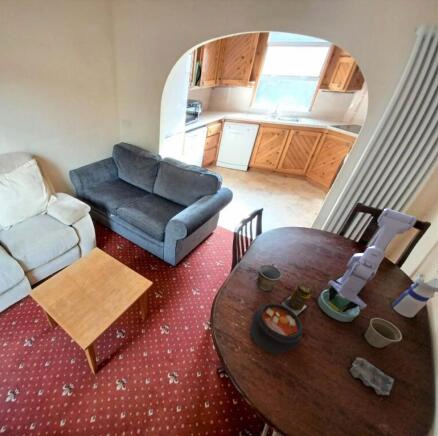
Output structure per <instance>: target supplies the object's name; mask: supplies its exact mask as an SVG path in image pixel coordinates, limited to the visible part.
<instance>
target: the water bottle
mask: <svg viewBox="0 0 438 436" xmlns="http://www.w3.org/2000/svg"><path fill="white" fill-rule="evenodd" d="M436 273H438V270H437V271H436ZM425 279H426V275H425V274H423V273H421V274H419V275H417V276H416V277H414V278H413V280H414V282H415V283H413V284H411V285H410V287H409V289H407V290H405V291H404V292H403V293H401V295H400V296H399V297H398V298H397V299H396V300H394V301H393V302H392V303H391V308H393V310H394V311H395V312H396V313H398V314H399V315H401V316H403V317H406V318H414V317H415V316H416V315H417V314H418V313H419V312H420V311H421V310H422V309H423V308H424V307H425V306H426V305H427V303H428V301H429V300H430V299H433V298H434V297H435V293H438V278H435V277H434V278H432V279H430V280H429V281H427V282H425Z"/></svg>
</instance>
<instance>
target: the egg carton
mask: <svg viewBox="0 0 438 436" xmlns="http://www.w3.org/2000/svg"><path fill="white" fill-rule="evenodd" d="M351 366H352V367H351V368H350V369H349V372H350V373H351V375H352V376H353V378H355V379H358V378H359V379H360V380H361V381H362V383H363V385H365V386H367V387H371V388H372V389H374V391H375V393H376V394H377V395H379V396H381V395H382V396H386V395H387V396H390V393H391V390H392V388H393V384H394V381H395V379H394V378H392V377H391V376H389V375H387V374H385V373H384V372H383V371H381V369H379V368H377V367H376V366H374V365H373V364H372V363H370V362H369V361H368V360H366V359H365V358H363V357H356V359H355V360H354V361H353V363H352V364H351Z"/></svg>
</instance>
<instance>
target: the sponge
mask: <svg viewBox="0 0 438 436" xmlns="http://www.w3.org/2000/svg"><path fill="white" fill-rule="evenodd" d="M348 303H350V302H349V301H348V300H347V299H345V298H341V297H340V296H337V297H336V298H334V299H332V300H330V302H329V303H328V306H329V307H330V308H332V309H333V310H335V311H336V312H338V313H339V312H341V311H343V310H344V309H345V308H346V306H347V304H348Z"/></svg>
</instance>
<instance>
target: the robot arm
mask: <svg viewBox="0 0 438 436" xmlns="http://www.w3.org/2000/svg"><path fill="white" fill-rule="evenodd" d="M417 221H418V218H417V216H414V215H409V214H407V213H403V212H401V211H397V210H394V209H390V208H389V207H387V208H384V209H383V210H382V212H381V214H380V215H379V216H378V218H377V226H378V227H379V228H380V229H379V231H377V234H376V235H375V237H374V238H373V239H372V241H371V243H369V245H368V246H367V248H366V249H365V251H364V252H361V253H354V254H353V256H352V257H351V258H350V259H349V260H348V262H347V264H346V268H347V270H346V271H345V272H344V274H343V276H342V277H339V278H338V279H337V280H336V282H335V281H334V280H332V279H331V280H329V281H328V282H327V285H328V286H329V287H330V288H328V289H329V294H330V296H329V301H330V300H332V299H334V298H335V296H336V295H337V293H339V296H340V297H341V298H346V299H348V300H350V301H351V302H350V303H348V304H347V306H346V308H345V309H344V310H343V312H346V311H347V310H349V309H353V308H356V307H357V306H359V309H360V310H364V309H365V308H366V307H367V306H368V305H367V304H366V303H365V302H364V301H363V300H362V299H361V298H360V297H359V296H358V294H359V293H360V292H361V290H362V289H363V288H364V287H365V285H366V284H367V283H368V282H370V281H371V280H372V279H373V278H374V277H375V275H376V274H377V271H378V269H379V266H380V264H381V263H382V261H383V260H384V258H385V257H386V253H385V249H386V248H387V247H388V246H389V245H390V243H391V242H392V241H393V240H394V238H395V237H396V236H397V235H403V234H405V233H406V232H410V231H411V229H412V228H413V227H414V225H415V224H416V223H417Z"/></svg>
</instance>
